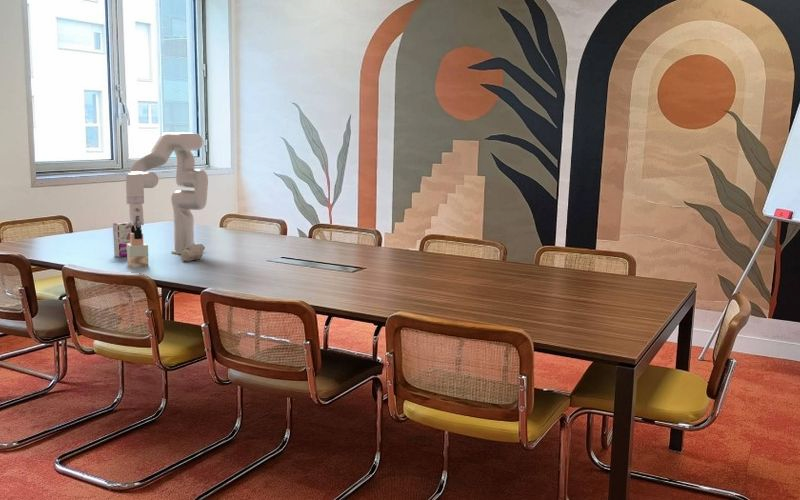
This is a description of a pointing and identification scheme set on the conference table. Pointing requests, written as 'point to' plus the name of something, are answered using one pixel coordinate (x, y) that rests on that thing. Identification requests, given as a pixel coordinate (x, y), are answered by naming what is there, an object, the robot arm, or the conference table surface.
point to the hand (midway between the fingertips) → (136, 237)
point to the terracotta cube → (135, 240)
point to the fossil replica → (192, 252)
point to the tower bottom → (137, 261)
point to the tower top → (137, 250)
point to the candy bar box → (121, 238)
